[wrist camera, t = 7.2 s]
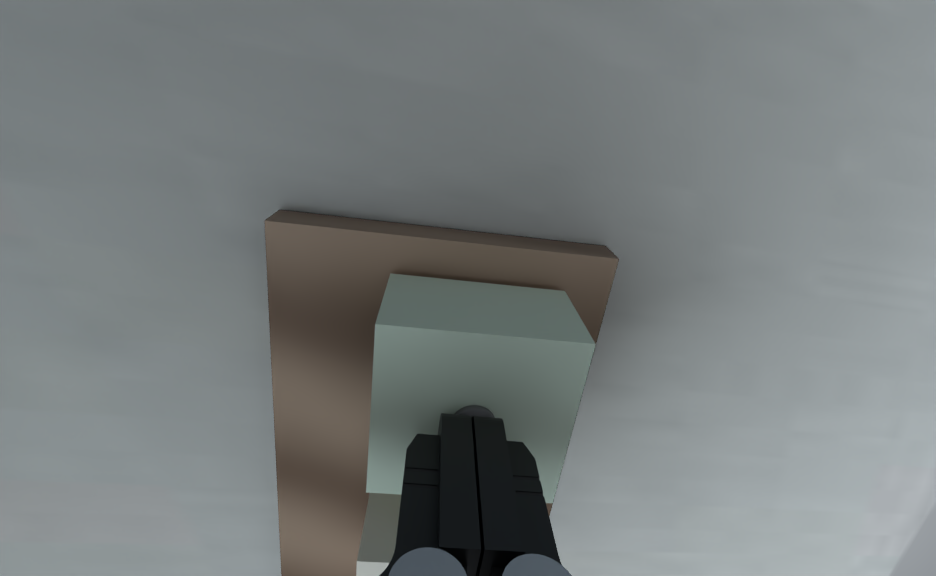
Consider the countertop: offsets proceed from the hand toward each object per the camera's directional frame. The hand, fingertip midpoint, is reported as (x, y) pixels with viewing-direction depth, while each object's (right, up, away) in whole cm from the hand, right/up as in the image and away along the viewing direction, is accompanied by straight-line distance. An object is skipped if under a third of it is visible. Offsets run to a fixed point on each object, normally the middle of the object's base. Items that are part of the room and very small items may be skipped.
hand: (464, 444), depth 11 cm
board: (-2, -3, +7) cm, 7 cm away
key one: (0, +2, +3) cm, 3 cm away
